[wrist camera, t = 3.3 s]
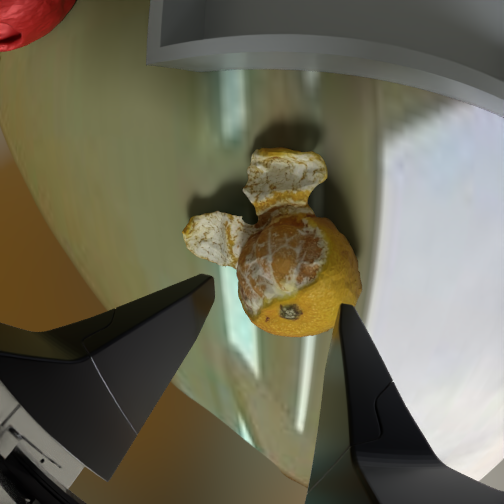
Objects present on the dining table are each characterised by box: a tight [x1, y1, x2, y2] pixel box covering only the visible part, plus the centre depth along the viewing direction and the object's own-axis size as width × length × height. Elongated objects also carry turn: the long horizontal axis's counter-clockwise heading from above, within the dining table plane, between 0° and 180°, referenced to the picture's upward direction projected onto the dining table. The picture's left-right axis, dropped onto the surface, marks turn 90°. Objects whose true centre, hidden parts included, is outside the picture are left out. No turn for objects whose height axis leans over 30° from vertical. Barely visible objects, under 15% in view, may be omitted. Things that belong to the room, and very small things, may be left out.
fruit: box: [182, 147, 362, 337], centre depth 12 cm, size 8×8×4 cm
